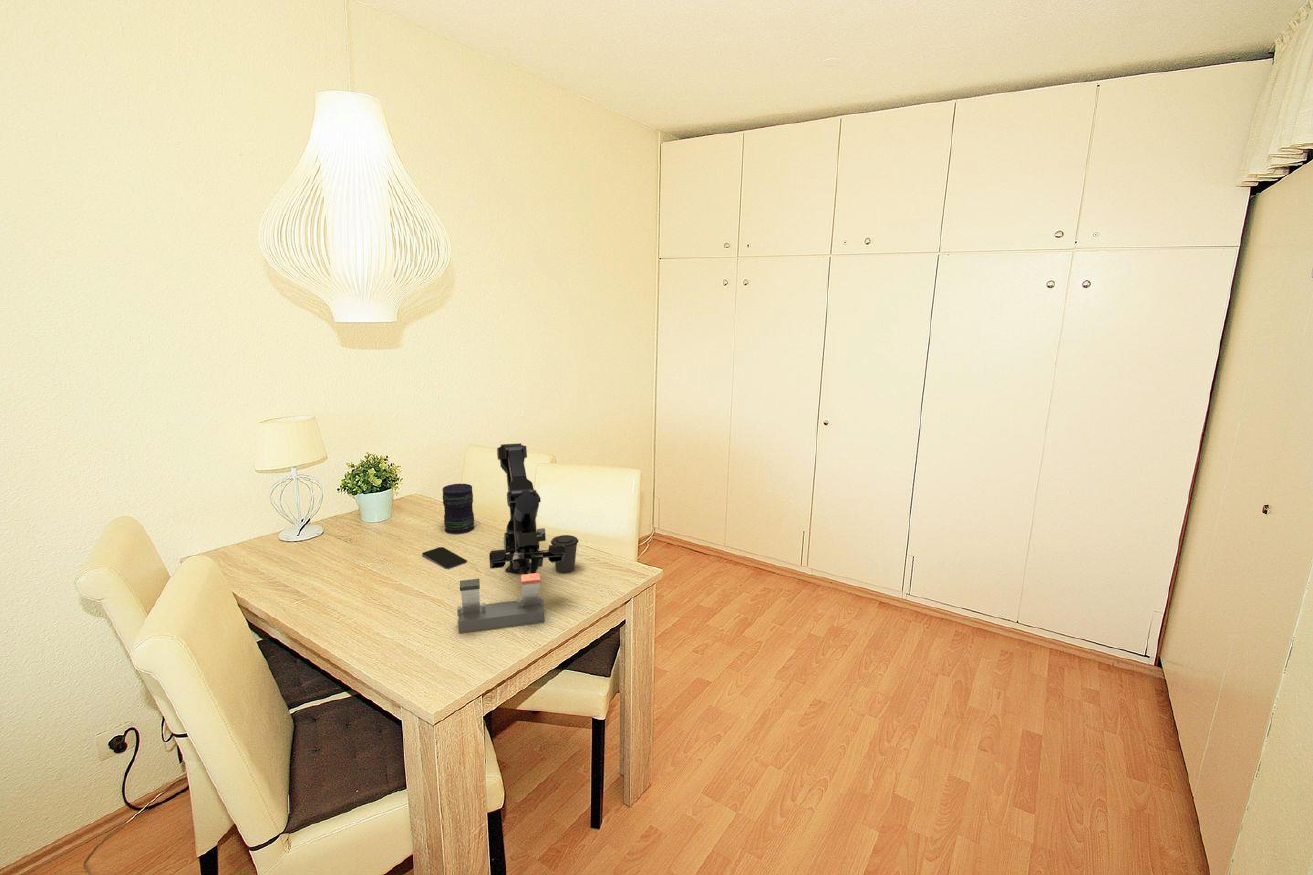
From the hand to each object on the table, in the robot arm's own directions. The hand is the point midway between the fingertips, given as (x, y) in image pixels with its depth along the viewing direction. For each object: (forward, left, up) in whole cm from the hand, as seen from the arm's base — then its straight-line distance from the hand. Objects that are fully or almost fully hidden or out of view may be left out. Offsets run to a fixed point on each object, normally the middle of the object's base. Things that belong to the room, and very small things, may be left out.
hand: (530, 588), depth 144 cm
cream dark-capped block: (+7, -12, -4) cm, 15 cm away
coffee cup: (-27, -2, -8) cm, 29 cm away
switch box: (+4, -6, -7) cm, 10 cm away
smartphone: (-24, -40, -8) cm, 48 cm away
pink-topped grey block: (0, 0, -4) cm, 4 cm away
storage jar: (-47, -49, -8) cm, 69 cm away
